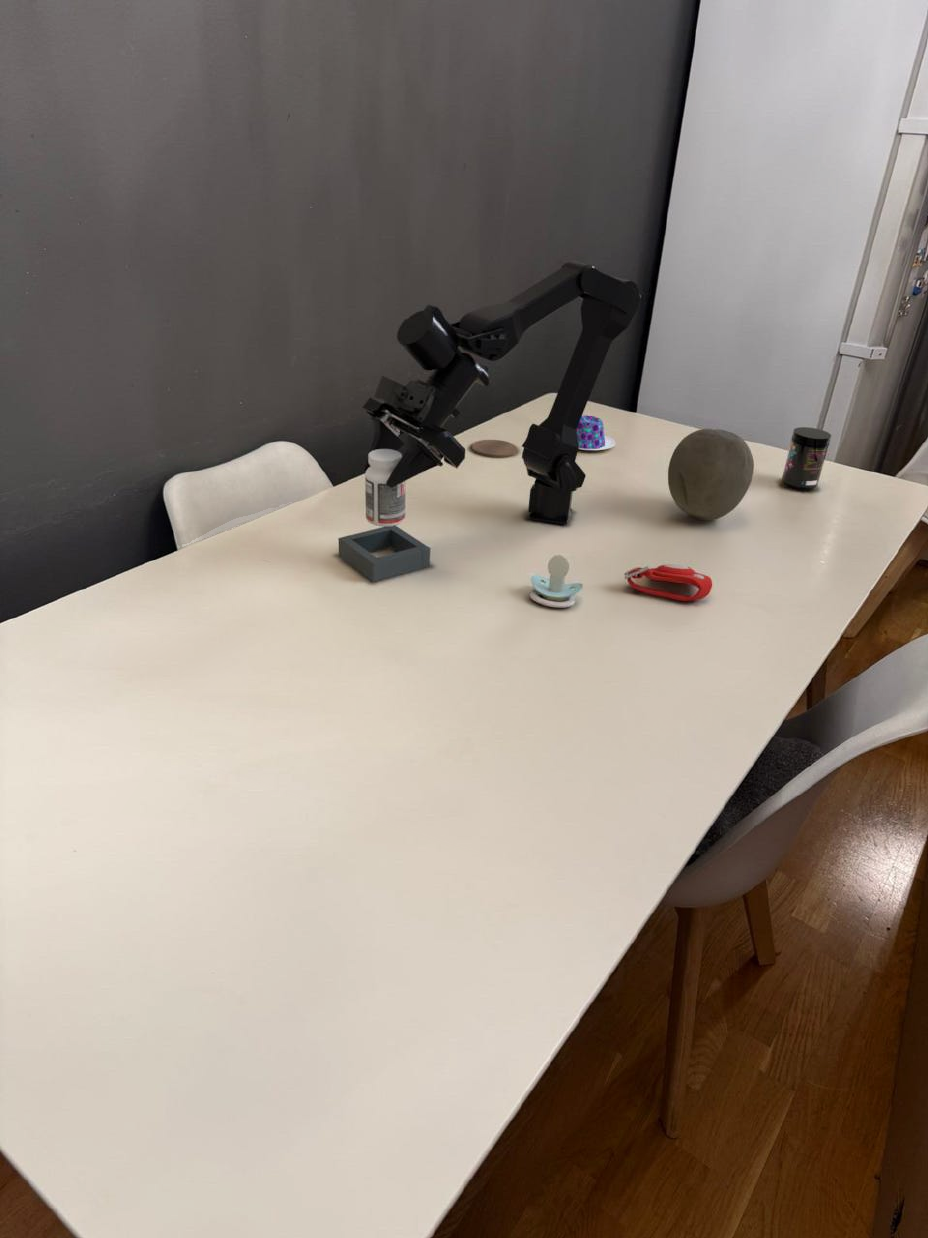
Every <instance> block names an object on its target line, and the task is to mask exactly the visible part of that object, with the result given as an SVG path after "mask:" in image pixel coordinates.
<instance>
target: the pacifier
mask: <svg viewBox="0 0 928 1238" xmlns="http://www.w3.org/2000/svg"><path fill="white" fill-rule="evenodd" d="M547 571H548V573H549V577H546V576H544V575H542V574H537V573H535V574H532V575H531V577H530V583H531V585H532V587H533V589H534V590H532V591H530V593H529V597H530V599H531V600H532V601H534V602H536V603H537V604H540V605H543V606H546V607H550V608H570V607H572V606H574V605H575V603H576V600H575V599H574V598H573V596H574V595H576V594H578V593H579V592H580V591H582V589H583V584H582V583H580V582H574V583H565V582H566V576H567V575H568V573H569V571H570V562H569V560H568V558H567V557H566V556H565V555H562V554H557V555H553V556H552V557H551V558H550V559H549V561H548V564H547ZM540 595H542V597H543V598H542V597H540Z"/></svg>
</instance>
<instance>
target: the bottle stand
mask: <svg viewBox="0 0 928 1238" xmlns="http://www.w3.org/2000/svg"><path fill="white" fill-rule="evenodd" d="M337 540H338V557H339V558H341V559H342V560H343V561H345V562H346V563H347V564H349V566H351V567H352V568H354V569H355V570H357V571H358V572H359V573H361V575H363V576H364V577H366V578H367V579H369V580H370V581H371V582H372V583H377V582H379V581H383V580H386V579H390V578H393V577H397V576H401V575H404V574H408V573H411V572H415V571H418V570H421V569H426V568H428V567H430V565H431V548H430V546H428V545H426V543H423V542H421V541H420V540H419V539H417V538H415V537H414V536H412V535H411V534H409V533H408V532H406V531H405V530H403V529H402V528H400V527H398V525H395V526H390V527H382V526H380V527H378V528H374V529H369V530H365V531H361V532H357V533H353V534H348V535H344V536H341V537H338V539H337ZM389 548H392V549H393V550H394V551H396V552H392V553H389V554H385V555H382V556H378V557H377V556H375V555H374V554H372V553H374V552H378V551H382V550H385V549H389Z"/></svg>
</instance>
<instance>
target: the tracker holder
mask: <svg viewBox="0 0 928 1238" xmlns="http://www.w3.org/2000/svg"><path fill="white" fill-rule="evenodd" d="M623 575H624V577H623V578H624V580H626V581H627V582H628V584H629V586H630V587H632V588H633V589H635V590H638V591H639V592H642V593H645V594H649V595H653V596H657V597H663V598H668V599H673V600H677V601H682V602H688V601H690V602H691V601H700V600H703V599H704V598H706V597H707V596H708V595H709V594H710V592H711V590H712V588H713V580H712V578H711V576H708V575H706V574H702V573H699V572H696V571H695V570H694V569H693V568H691V567H689V566H685V565H681V564H661V565H658V566H657V567H651V565H647V566H645V567H634V568H632V569H629V570H627V571H626V572H624V573H623ZM643 577H645V578H648V579H651V580H655V581H664V582H671V583H679V584H686V585H691V586H693V587H695V588H697V589H698V590H697V591H696V592H695V594H693V595H686V594H681V593H675V592H671V591H666V590H660V589H657V588H650V587H646V586H643V585H640V584H638V583H635V581H633V579H634V580H641V579H642V578H643Z"/></svg>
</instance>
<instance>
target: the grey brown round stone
mask: <svg viewBox="0 0 928 1238" xmlns="http://www.w3.org/2000/svg"><path fill="white" fill-rule="evenodd" d="M667 469H668V470H667V486H668V489H669V490H668V491H669V493H670V496H671V498H672V500H673V501H674V503H675V504H676V506H677V507H678V508H679V509H680V510H681V511H682V512H683V513H684V514H685V515H687V516H689V517H692V518H694V519H697V520H700V521H705V522H707V521H715V520H718V519H720V518H723V517H725V516H726V515H727V514H729V513H731V512H732V511H733V510H734V509H735V508H737V507H738V506H739V504H740V503H741V502H742V500H743V499H744V498H745V496H746V495H747V492H748V491H749V488H750V486H751V483H752V481H753V477H754V469H755V461H754V456H753V453H752V450H751V448H750V446H749V445H748V443H747V441H745V439H743V437H741V436H740V435H738V434H737V433H734V432H731V431H728V430H726V429H721V428H715V429H714V428H702V429H698V430H695V431H692V432H691V433H689V434H687V435H686V436H685V437H684V438H683V439H681V440H680V442H679V443H678V444H677V445H676V447H675V448H674V449H673V452H672V454H671V457H670V460H669V462H668V467H667Z"/></svg>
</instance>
